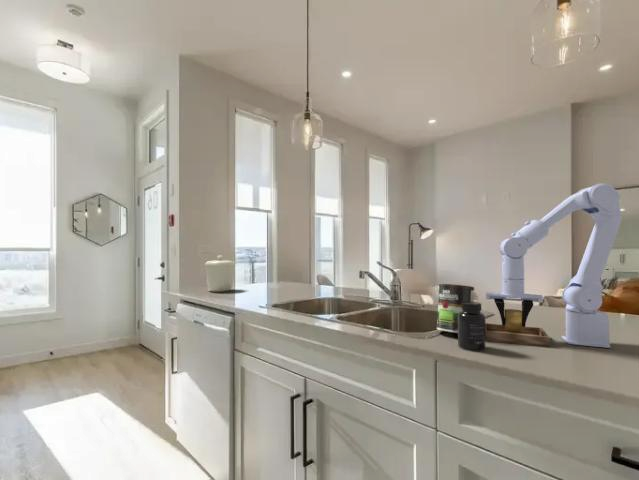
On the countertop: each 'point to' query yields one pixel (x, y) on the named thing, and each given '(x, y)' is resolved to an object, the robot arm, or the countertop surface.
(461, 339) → the supplement bottle
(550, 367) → the countertop surface
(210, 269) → the canister
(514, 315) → the tan wooden cylinder
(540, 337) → the tray
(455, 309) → the coffee can
